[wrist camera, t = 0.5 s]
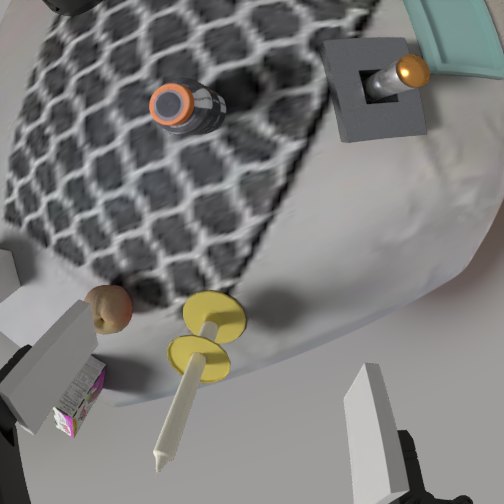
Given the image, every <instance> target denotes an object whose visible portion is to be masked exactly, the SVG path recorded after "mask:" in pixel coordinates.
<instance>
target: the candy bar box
mask: <svg viewBox="0 0 504 504" xmlns="http://www.w3.org/2000/svg"><path fill="white" fill-rule="evenodd" d="M105 371H106V364H105V363H104V362H102V361H100V360H99V359H97V358H95V357H94V356H92V355H90V357H89V358H88V359H87V361H86V362H85V363H84V365H83V366H82V367H81V369H80V370H79V372H78V373H77V374H76V376H75V377H74V378H73V380H72V381H71V383H70V384H69V385H68V387H67V388H66V390H65V391H64V393H63V394H62V395H61V397H60V398H59V400H58V401H57V403H56V404H55V406H54V407H53V412H54V417H55V423H56V427H57V428H59V429H60V430H62V431H63V432H65V433H66V434H68V435H69V436H71V437H73V438H75V436H76V434H77V432H78V430H79V428H80V427H81V425H82V423H83V421H84V420H85V418H86V416H87V414H88V412H89V411H90V409H91V407H92V406H93V404H94V402H95V401H96V399H97V397H98V396H99V394H100V392H101V391H102V389H103V383H104V377H105Z"/></svg>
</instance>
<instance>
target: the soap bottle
mask: <svg viewBox="0 0 504 504" xmlns="http://www.w3.org/2000/svg"><path fill="white" fill-rule="evenodd" d="M20 287H21V285H20V282H19V278H18V275H17V271H16V267H15V263H14V259H13V255H12V252H11V251H7V250H2V249H0V303H1V302H2V301H4V300H5V299H6V298H7V297H9V296H10V295H11V294H12V293H14V292H15V291H16V290H17V289H19V288H20Z"/></svg>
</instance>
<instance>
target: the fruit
mask: <svg viewBox="0 0 504 504" xmlns="http://www.w3.org/2000/svg"><path fill="white" fill-rule="evenodd" d="M85 302H87V303H90V304H91V309H92V315H93V321H94V326H95V332H96V333H99V334H112V333H117V332H119V331H121V330H123V329H124V328H125V327H126V326H127V325H128V324H129V322H130V320H131V317H132V300H131V298H130V296H129V294H128V293H127V292H126V291H125V290H124V289H123V288H122V287H121V286H117V285H101V286H98V287H95V288H93V289H92V290H91V291H90V292H89V293H88V294H87V296H86V298H85Z"/></svg>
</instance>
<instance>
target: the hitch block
mask: <svg viewBox="0 0 504 504" xmlns="http://www.w3.org/2000/svg"><path fill="white" fill-rule="evenodd" d="M319 52H320V55H321V59H322V62H323V66H324V69H325V73H326V77H327V81H328V85H329V89H330V93H331V97H332V101H333V105H334V110H335V114H336V119H337V123H338V128H339V133H340V138H341V142H346V143H351V142H358V141H366V140H374V139H383V138H393V137H404V136H416V135H427V130H426V124H425V118H424V112H423V107H422V102H421V97H420V93H419V88H418V87H417V88H414V89H410V90H407V91H404V92H400V93H397V94H394V95H391V96H387V97H386V100H387V103H378V104H366V100H365V95H364V91H363V87H362V83H361V79H360V76H367V75H374V74H375V73H377V72H379V71H380V70H382V69H384V68H385V67H387V66H388V65H390V64H392V63H393V62H395V61H397V60H399V59H400V58H402V57H404V56H405V55H408V54H409V50H408V47H407V44H406V41H405V38H353V39H339V40H328V41H323V42H322V45H321V47H320V49H319Z"/></svg>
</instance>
